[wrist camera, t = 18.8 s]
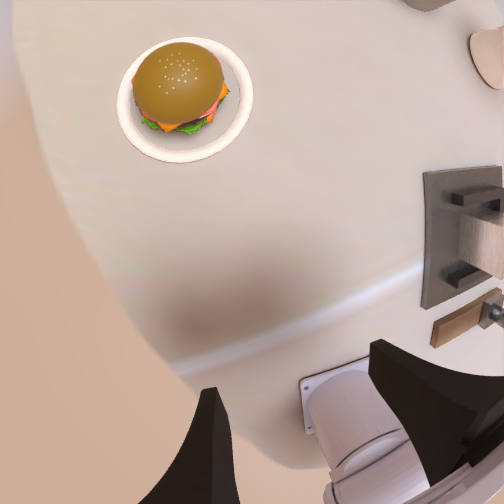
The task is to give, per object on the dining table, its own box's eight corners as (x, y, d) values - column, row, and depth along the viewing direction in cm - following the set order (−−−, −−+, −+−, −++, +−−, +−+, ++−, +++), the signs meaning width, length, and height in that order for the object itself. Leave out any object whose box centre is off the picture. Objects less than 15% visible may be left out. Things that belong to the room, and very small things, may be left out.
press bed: (491, 272, 26) (503, 279, 24) (420, 306, 25) (434, 317, 22) (496, 165, 22) (511, 168, 19) (423, 172, 20) (441, 175, 18)
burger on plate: (232, 211, 20) (241, 228, 14) (77, 155, 17) (38, 155, 11) (298, 62, 17) (328, 34, 12) (147, 10, 14) (133, -28, 9)
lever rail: (492, 307, 28) (497, 310, 27) (430, 344, 27) (435, 348, 26) (497, 287, 27) (502, 290, 26) (434, 321, 26) (439, 326, 25)
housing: (481, 248, 23) (527, 269, 17) (457, 257, 23) (507, 283, 16) (484, 207, 22) (533, 222, 15) (460, 213, 21) (514, 231, 15)
